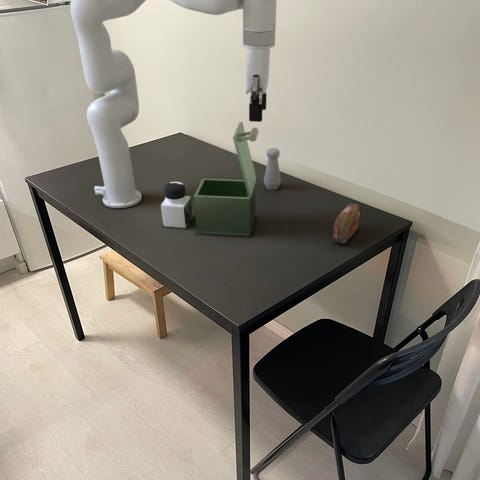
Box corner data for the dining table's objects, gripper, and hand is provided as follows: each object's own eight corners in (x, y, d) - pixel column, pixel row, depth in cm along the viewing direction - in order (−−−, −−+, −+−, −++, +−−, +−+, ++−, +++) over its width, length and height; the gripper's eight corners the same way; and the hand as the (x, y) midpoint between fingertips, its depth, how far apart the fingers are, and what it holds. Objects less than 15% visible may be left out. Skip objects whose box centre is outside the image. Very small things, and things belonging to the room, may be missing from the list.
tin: (340, 249, 133) (343, 221, 127) (329, 246, 134) (332, 218, 129) (360, 226, 143) (364, 199, 137) (350, 223, 144) (353, 197, 139)
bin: (196, 234, 141) (193, 196, 133) (205, 214, 150) (202, 178, 143) (250, 237, 139) (249, 198, 132) (255, 217, 148) (255, 180, 141)
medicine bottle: (186, 228, 143) (182, 190, 136) (163, 226, 145) (158, 188, 137) (192, 217, 149) (189, 180, 141) (170, 215, 150) (166, 178, 142)
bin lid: (232, 137, 122) (252, 133, 120) (239, 122, 131) (258, 117, 130) (248, 197, 131) (267, 193, 130) (253, 179, 141) (271, 175, 139)
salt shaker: (261, 189, 164) (261, 151, 156) (266, 182, 168) (267, 145, 160) (277, 191, 162) (278, 153, 154) (282, 185, 166) (284, 147, 158)
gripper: (247, 31, 120) (247, 104, 131) (237, 45, 106) (238, 125, 117) (278, 32, 119) (275, 105, 130) (271, 46, 106) (269, 126, 116)
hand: (257, 115), depth 123 cm, fingers open, 9 cm apart
